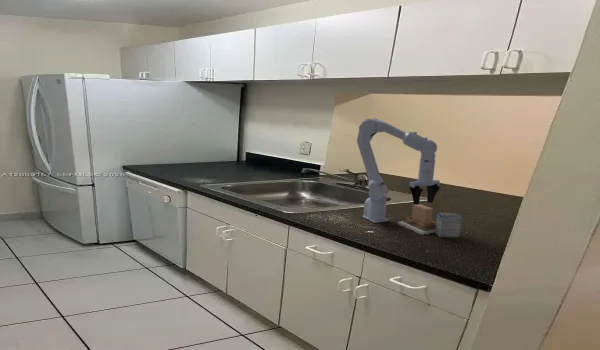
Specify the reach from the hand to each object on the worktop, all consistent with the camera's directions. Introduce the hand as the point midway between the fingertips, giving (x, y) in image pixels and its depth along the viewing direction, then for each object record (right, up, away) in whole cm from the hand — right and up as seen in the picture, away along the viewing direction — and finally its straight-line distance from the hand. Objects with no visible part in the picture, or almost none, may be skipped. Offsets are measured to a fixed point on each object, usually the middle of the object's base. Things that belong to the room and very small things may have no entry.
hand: (422, 203), depth 144 cm
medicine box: (+7, -12, -6) cm, 16 cm away
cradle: (0, -10, +2) cm, 10 cm away
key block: (0, -9, +2) cm, 9 cm away
